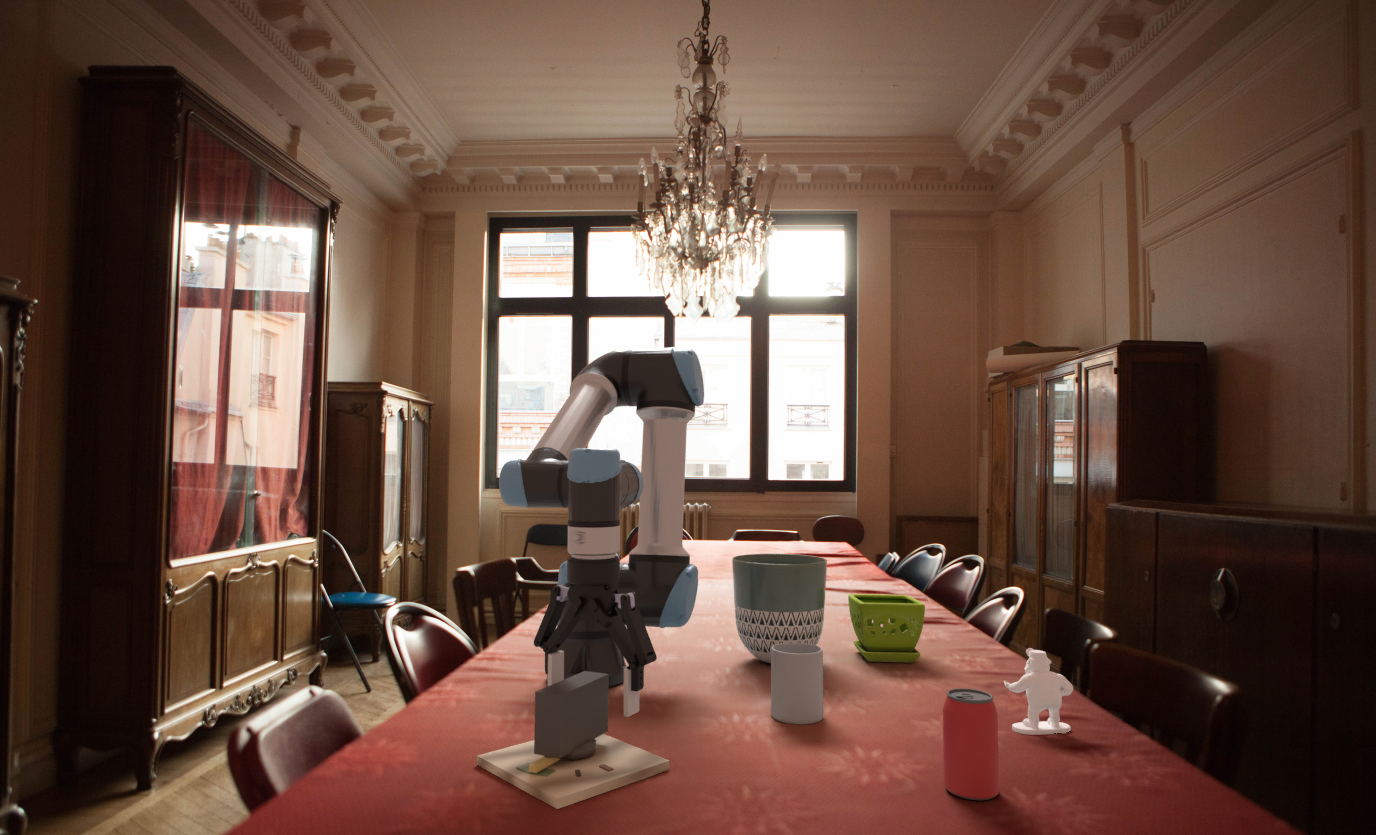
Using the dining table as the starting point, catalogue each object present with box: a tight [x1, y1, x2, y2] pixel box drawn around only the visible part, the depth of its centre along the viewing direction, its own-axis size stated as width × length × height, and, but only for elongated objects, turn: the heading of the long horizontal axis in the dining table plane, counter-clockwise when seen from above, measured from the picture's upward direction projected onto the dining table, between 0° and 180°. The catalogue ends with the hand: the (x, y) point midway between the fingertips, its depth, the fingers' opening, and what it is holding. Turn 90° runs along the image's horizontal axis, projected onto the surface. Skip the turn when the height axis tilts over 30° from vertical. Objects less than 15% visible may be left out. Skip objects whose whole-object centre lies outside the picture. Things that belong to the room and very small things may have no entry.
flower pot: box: [848, 593, 926, 664], centre depth 169 cm, size 14×14×13 cm
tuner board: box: [476, 733, 671, 810], centre depth 106 cm, size 19×18×1 cm
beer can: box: [942, 687, 1000, 801], centre depth 99 cm, size 7×7×12 cm
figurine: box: [1003, 647, 1074, 736], centre depth 123 cm, size 9×7×12 cm
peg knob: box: [529, 671, 609, 773], centre depth 106 cm, size 15×6×9 cm, turn 155°
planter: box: [731, 553, 828, 664], centre depth 165 cm, size 20×20×21 cm
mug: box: [770, 643, 824, 725], centre depth 130 cm, size 12×8×11 cm
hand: (592, 705), depth 112 cm, fingers open, 13 cm apart
